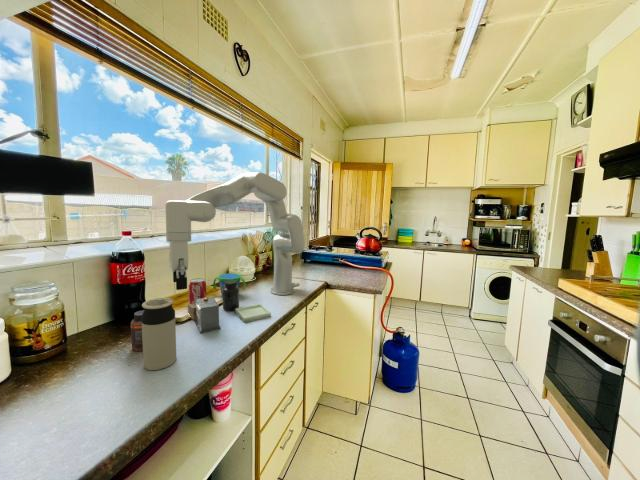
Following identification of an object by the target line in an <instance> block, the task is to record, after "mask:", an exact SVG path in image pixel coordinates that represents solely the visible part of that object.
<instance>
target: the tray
mask: <svg viewBox="0 0 640 480" xmlns="http://www.w3.org/2000/svg"><path fill="white" fill-rule="evenodd" d="M235 314H236V315H237V316H238V318H239V319H240V320H241V321H242V322H243V323H249V322H253V321H259V320H262V319H267V317H268V318H271V317H272V316H271V315H272V314H271V312H270V310H268V309H267V308H266V307H265V306H264V305H263V304H262V303H258V304H252V305H247V306H241V307H240V306H239V308H236V310H235Z"/></svg>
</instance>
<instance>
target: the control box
mask: <svg viewBox="0 0 640 480" xmlns="http://www.w3.org/2000/svg"><path fill="white" fill-rule="evenodd" d="M196 316H197V319H196V320H194V323H195V325H196V328H197V329H198V332H199V333H200V334H203V333H208V332H213V331H217V330H221V329H222V328H221V326H220V305H219V304H218V302H217V301H216V299H215V298H214V296H208V297H207V296H206V297H205V298H201V299H196Z"/></svg>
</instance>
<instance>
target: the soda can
mask: <svg viewBox="0 0 640 480" xmlns="http://www.w3.org/2000/svg"><path fill="white" fill-rule="evenodd" d="M205 297H207V282H206V280H205V279H204V278H201V277H199V278H192V279H190V280H189V284H188V305H189V304H193V303H196V299H201V298H205Z"/></svg>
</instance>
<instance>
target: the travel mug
mask: <svg viewBox="0 0 640 480" xmlns="http://www.w3.org/2000/svg"><path fill="white" fill-rule="evenodd" d="M173 303H174V299H173V298H171V297H158V298H157V297H156V298H152V299H149V300H146V301H144V302H143V303H142V304H141V307H142V308H143V310H144V312H143V314H142V316H141V320H142V341H143V351H142V356H143V357H142V358H143V359H142V360H143V368H144V369H146V370H148V371H157V370H158V371H159V370H162V369H165V368H167V367H169V366H171V365H172V364H174V363H175V361H176V360H177V335H176V310H175V309H174V307H173V305H174V304H173Z"/></svg>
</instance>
